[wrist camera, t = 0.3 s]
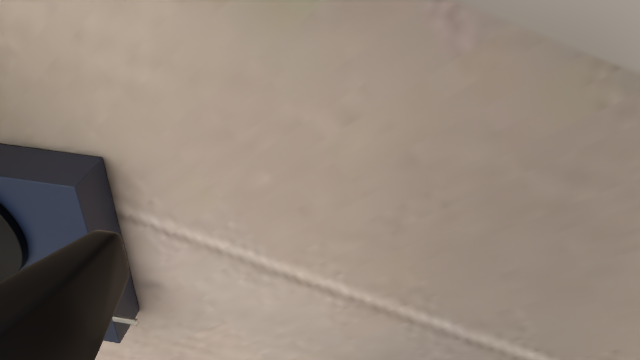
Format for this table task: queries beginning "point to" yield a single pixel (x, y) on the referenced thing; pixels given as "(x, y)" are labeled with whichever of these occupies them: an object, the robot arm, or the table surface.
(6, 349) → the robot arm
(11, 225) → the burner plate
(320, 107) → the table surface
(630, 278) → the table surface
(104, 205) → the hot plate
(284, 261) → the table surface
